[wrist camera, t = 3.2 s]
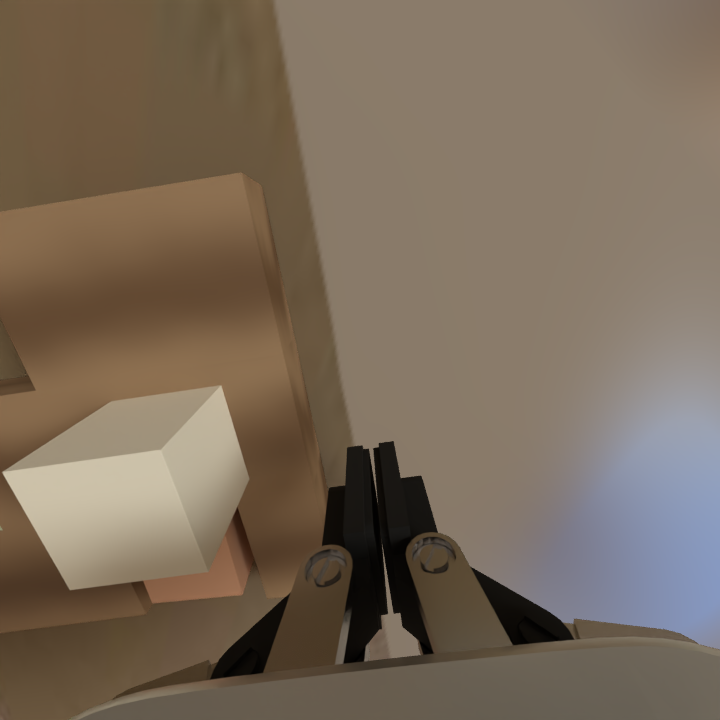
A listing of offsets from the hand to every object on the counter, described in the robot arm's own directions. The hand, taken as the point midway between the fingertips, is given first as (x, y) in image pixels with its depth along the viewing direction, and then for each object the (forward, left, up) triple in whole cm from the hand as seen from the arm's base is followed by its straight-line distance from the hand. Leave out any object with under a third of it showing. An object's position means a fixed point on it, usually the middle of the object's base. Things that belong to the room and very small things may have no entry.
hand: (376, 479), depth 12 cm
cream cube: (0, -9, -4) cm, 10 cm away
